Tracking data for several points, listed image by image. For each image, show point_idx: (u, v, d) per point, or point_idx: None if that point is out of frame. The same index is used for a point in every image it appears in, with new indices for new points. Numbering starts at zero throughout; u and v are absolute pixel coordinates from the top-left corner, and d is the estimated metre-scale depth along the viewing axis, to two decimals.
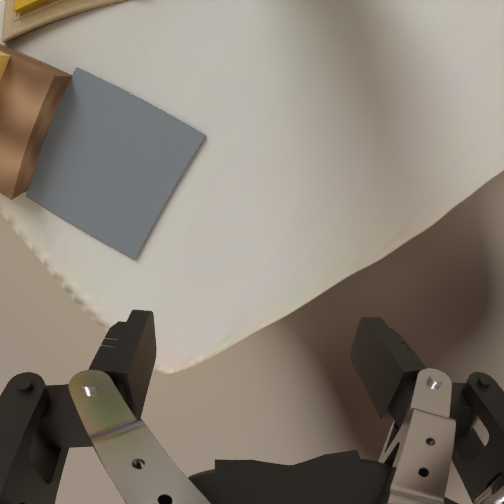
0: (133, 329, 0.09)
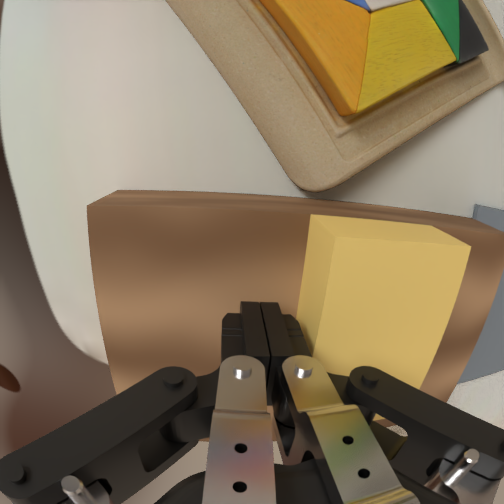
0: (253, 318, 0.11)
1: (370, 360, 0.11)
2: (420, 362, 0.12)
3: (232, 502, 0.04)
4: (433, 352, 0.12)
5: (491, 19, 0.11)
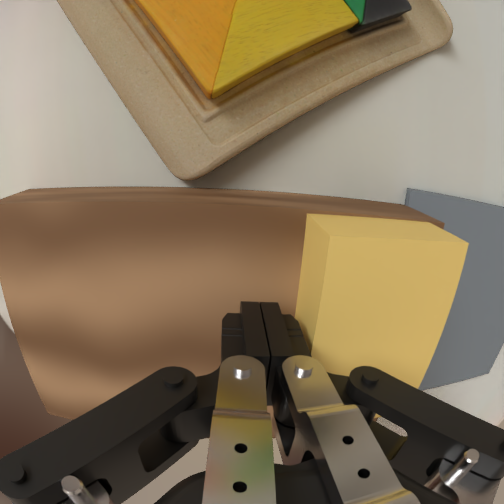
0: (253, 318, 0.11)
1: (368, 357, 0.11)
2: (419, 359, 0.12)
3: (232, 502, 0.04)
4: (433, 349, 0.12)
5: None
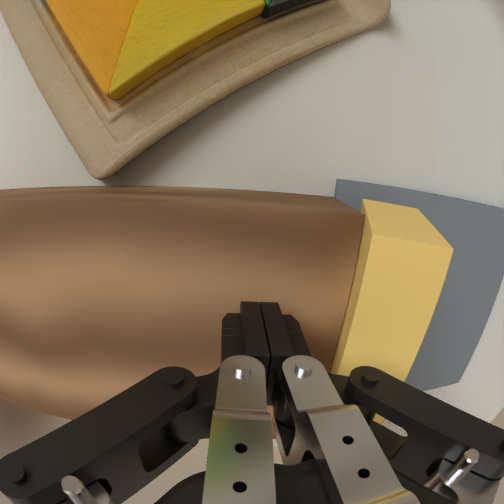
0: (253, 318, 0.11)
1: None
2: None
3: (232, 502, 0.04)
4: None
5: None
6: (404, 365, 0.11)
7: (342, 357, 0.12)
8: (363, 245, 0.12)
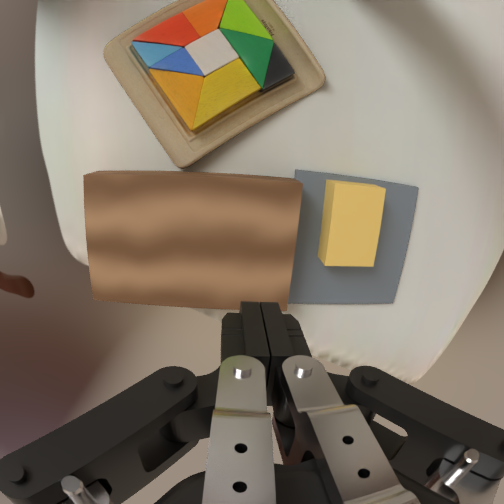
0: (253, 318, 0.11)
1: None
2: None
3: (232, 502, 0.04)
4: (323, 222, 0.35)
5: (305, 49, 0.27)
6: None
7: (378, 234, 0.33)
8: (369, 196, 0.31)
